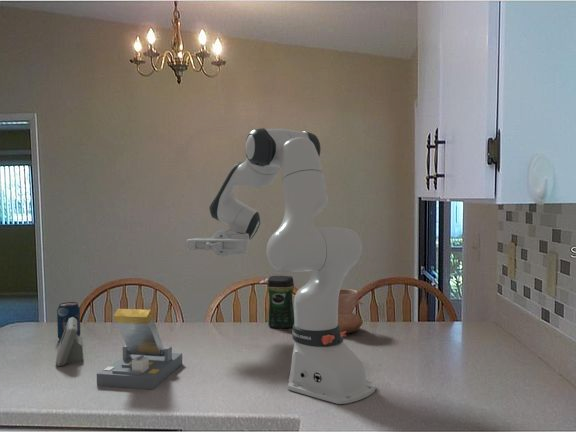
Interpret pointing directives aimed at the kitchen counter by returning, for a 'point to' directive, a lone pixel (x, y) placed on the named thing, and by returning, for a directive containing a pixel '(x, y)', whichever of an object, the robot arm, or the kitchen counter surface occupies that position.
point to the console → (125, 377)
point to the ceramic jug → (348, 311)
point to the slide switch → (140, 364)
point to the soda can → (67, 316)
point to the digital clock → (70, 344)
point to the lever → (139, 332)
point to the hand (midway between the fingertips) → (210, 246)
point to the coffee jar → (280, 301)
